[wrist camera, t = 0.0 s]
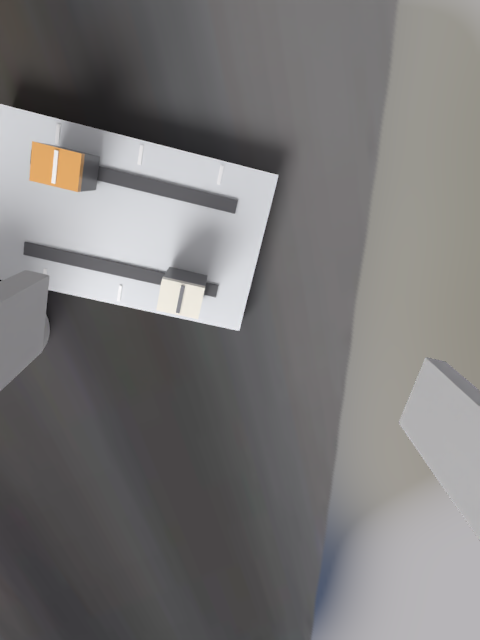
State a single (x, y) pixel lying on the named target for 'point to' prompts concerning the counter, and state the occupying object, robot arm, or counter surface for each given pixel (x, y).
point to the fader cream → (181, 292)
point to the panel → (131, 219)
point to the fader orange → (63, 167)
